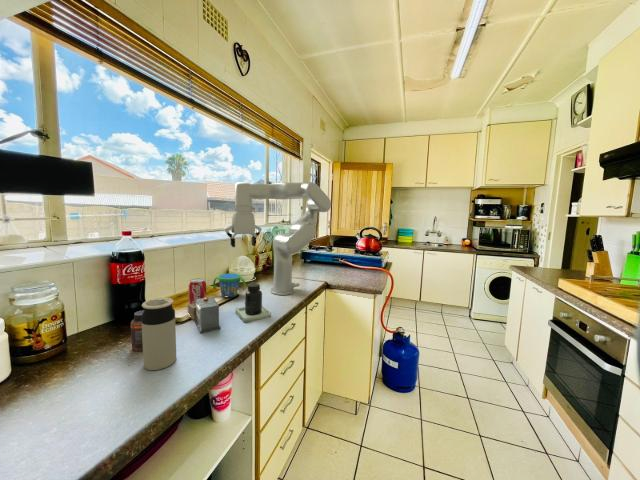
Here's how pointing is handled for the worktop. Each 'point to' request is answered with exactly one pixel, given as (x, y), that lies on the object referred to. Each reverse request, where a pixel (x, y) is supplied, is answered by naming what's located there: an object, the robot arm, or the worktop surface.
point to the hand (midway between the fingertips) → (243, 246)
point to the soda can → (196, 290)
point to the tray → (247, 318)
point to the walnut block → (192, 311)
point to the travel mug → (158, 333)
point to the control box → (207, 314)
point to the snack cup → (229, 284)
